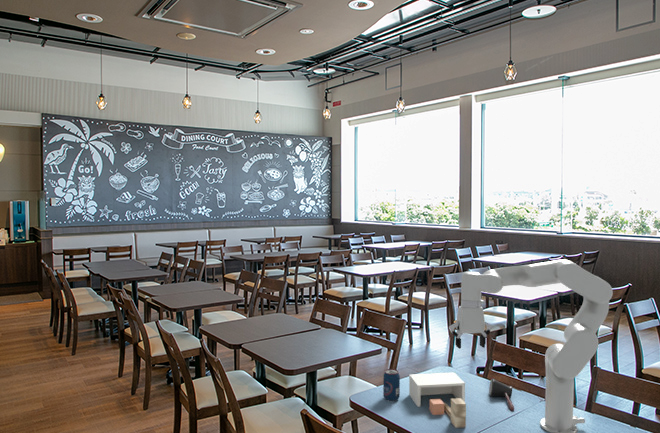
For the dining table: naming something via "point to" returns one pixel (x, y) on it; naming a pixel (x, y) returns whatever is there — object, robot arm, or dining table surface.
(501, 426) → the dining table surface
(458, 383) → the shelf cubby
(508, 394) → the coffee pot
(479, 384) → the dining table surface
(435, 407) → the block
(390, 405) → the dining table surface
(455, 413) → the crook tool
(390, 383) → the soda can
